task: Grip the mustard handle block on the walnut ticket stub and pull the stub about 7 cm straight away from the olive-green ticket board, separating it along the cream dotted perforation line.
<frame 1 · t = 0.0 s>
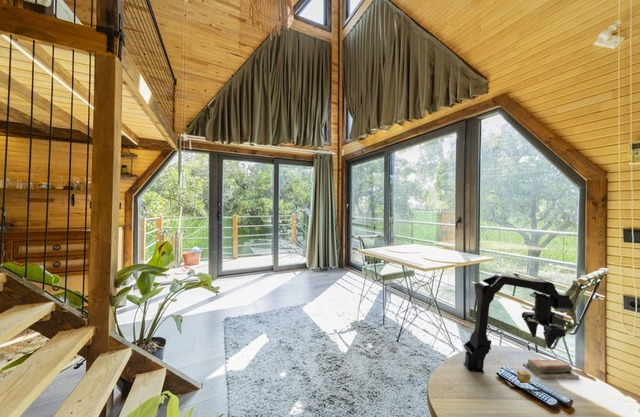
hand: (541, 342, 118), 15 cm above the table, tool pointing down, fingers open, 9 cm apart
packaged product: (549, 372, 121), on the table
stub: (523, 379, 110), point 3 cm above the table, slide at 0.0 cm
ticket: (515, 378, 115), on the table
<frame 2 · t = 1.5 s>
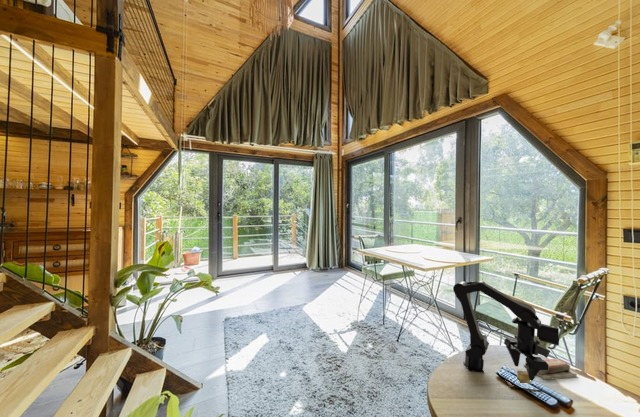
hand: (523, 372, 110), 6 cm above the table, tool pointing down, fingers open, 9 cm apart
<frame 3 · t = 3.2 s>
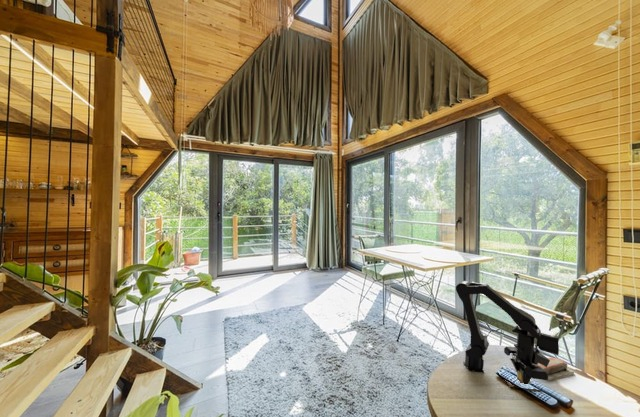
hand: (523, 382, 110), 2 cm above the table, tool pointing down, fingers closed on stub, 2 cm apart
stub: (523, 379, 110), point 3 cm above the table, slide at 0.0 cm, touching gripper
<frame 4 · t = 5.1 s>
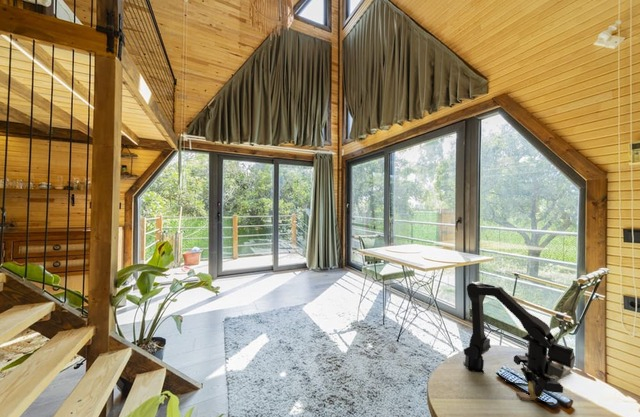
hand: (535, 393, 103), 2 cm above the table, tool pointing down, fingers closed on stub, 2 cm apart
stub: (535, 391, 103), point 3 cm above the table, slide at 6.8 cm, touching gripper
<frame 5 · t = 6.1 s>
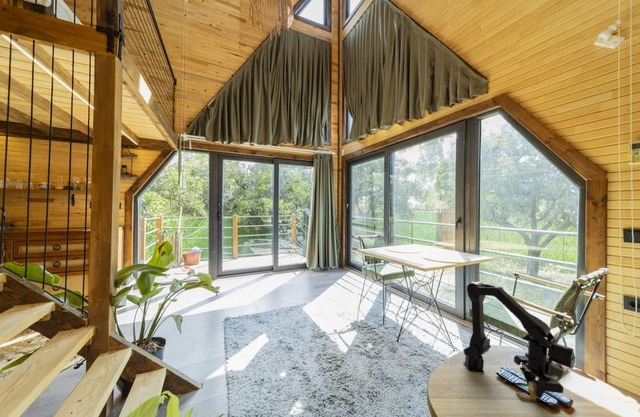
hand: (535, 393, 103), 2 cm above the table, tool pointing down, fingers open, 4 cm apart
stub: (535, 391, 103), point 3 cm above the table, slide at 6.9 cm
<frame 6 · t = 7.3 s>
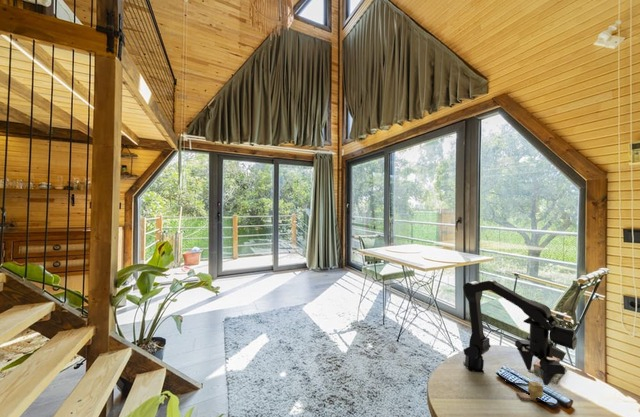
hand: (536, 377, 102), 9 cm above the table, tool pointing down, fingers open, 9 cm apart
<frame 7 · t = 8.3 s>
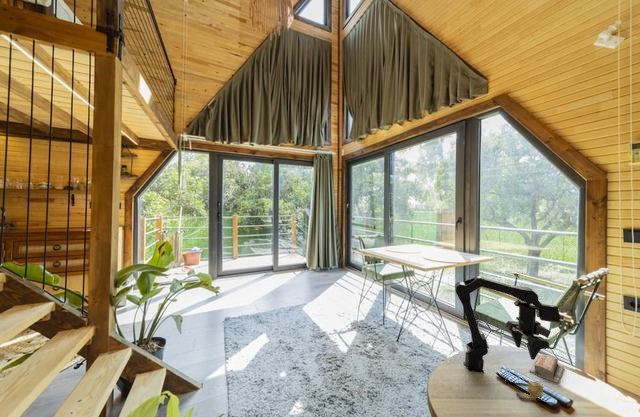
hand: (525, 353, 113), 12 cm above the table, tool pointing down, fingers open, 9 cm apart
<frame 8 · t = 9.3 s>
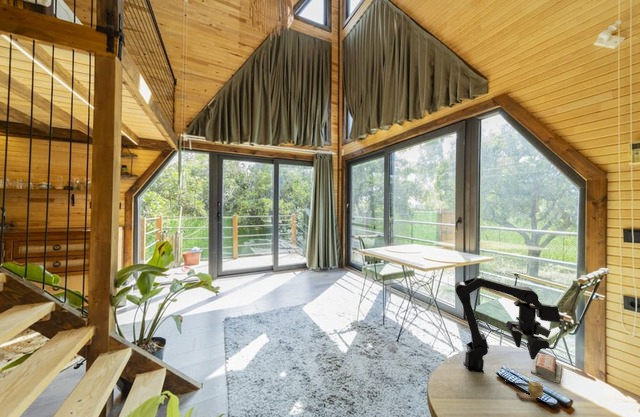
hand: (525, 353, 114), 12 cm above the table, tool pointing down, fingers open, 9 cm apart
at the end: stub slide at 6.9 cm; the gripper is holding nothing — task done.
